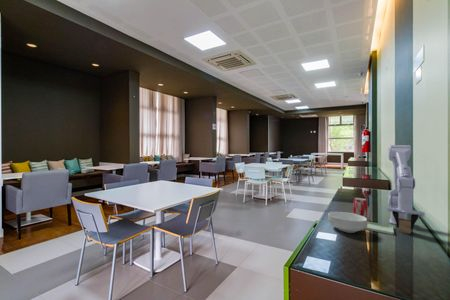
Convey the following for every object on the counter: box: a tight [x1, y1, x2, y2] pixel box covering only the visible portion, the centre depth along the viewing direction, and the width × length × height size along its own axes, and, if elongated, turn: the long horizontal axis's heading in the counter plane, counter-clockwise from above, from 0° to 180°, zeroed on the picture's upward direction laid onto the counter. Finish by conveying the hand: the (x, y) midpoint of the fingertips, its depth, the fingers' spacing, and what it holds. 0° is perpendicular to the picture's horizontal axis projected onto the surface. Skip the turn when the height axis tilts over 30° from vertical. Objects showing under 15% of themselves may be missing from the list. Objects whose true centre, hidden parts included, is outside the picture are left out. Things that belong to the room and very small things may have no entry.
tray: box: [363, 220, 395, 236], centre depth 112 cm, size 12×12×1 cm
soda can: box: [352, 197, 368, 220], centre depth 127 cm, size 7×7×12 cm
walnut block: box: [397, 218, 412, 235], centre depth 110 cm, size 4×4×6 cm
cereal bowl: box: [327, 211, 368, 234], centre depth 109 cm, size 17×17×7 cm
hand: (404, 228), depth 110 cm, fingers open, 5 cm apart
